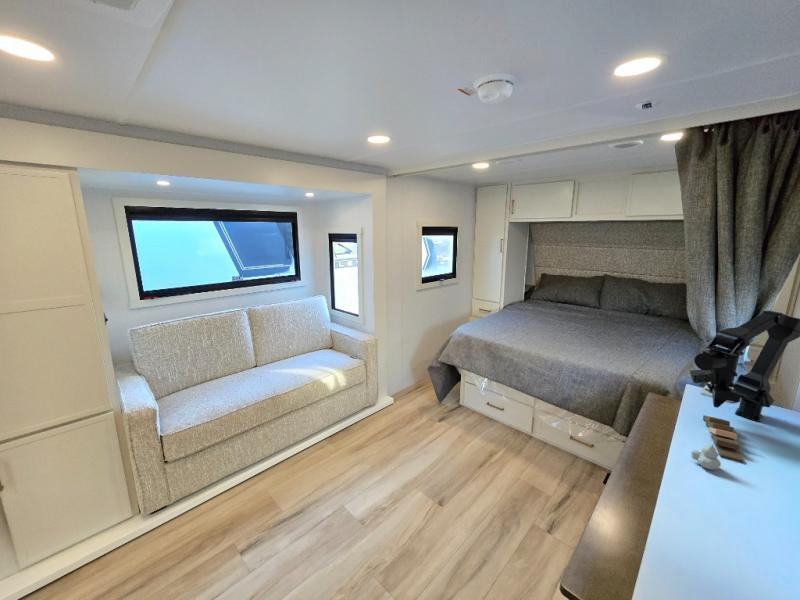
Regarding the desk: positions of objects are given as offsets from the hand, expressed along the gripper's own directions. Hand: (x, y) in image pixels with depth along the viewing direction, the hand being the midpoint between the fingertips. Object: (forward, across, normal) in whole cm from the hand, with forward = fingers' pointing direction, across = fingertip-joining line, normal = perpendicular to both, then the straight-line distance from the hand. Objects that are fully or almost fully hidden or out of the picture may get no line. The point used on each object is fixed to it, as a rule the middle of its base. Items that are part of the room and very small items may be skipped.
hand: (715, 406), depth 117 cm
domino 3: (+5, +8, 0) cm, 9 cm away
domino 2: (+5, +4, 0) cm, 6 cm away
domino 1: (+5, 0, 0) cm, 5 cm away
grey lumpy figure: (+6, +31, -8) cm, 32 cm away
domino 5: (+6, +15, 0) cm, 16 cm away
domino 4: (+5, +12, 0) cm, 13 cm away
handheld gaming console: (+7, -29, +8) cm, 31 cm away
